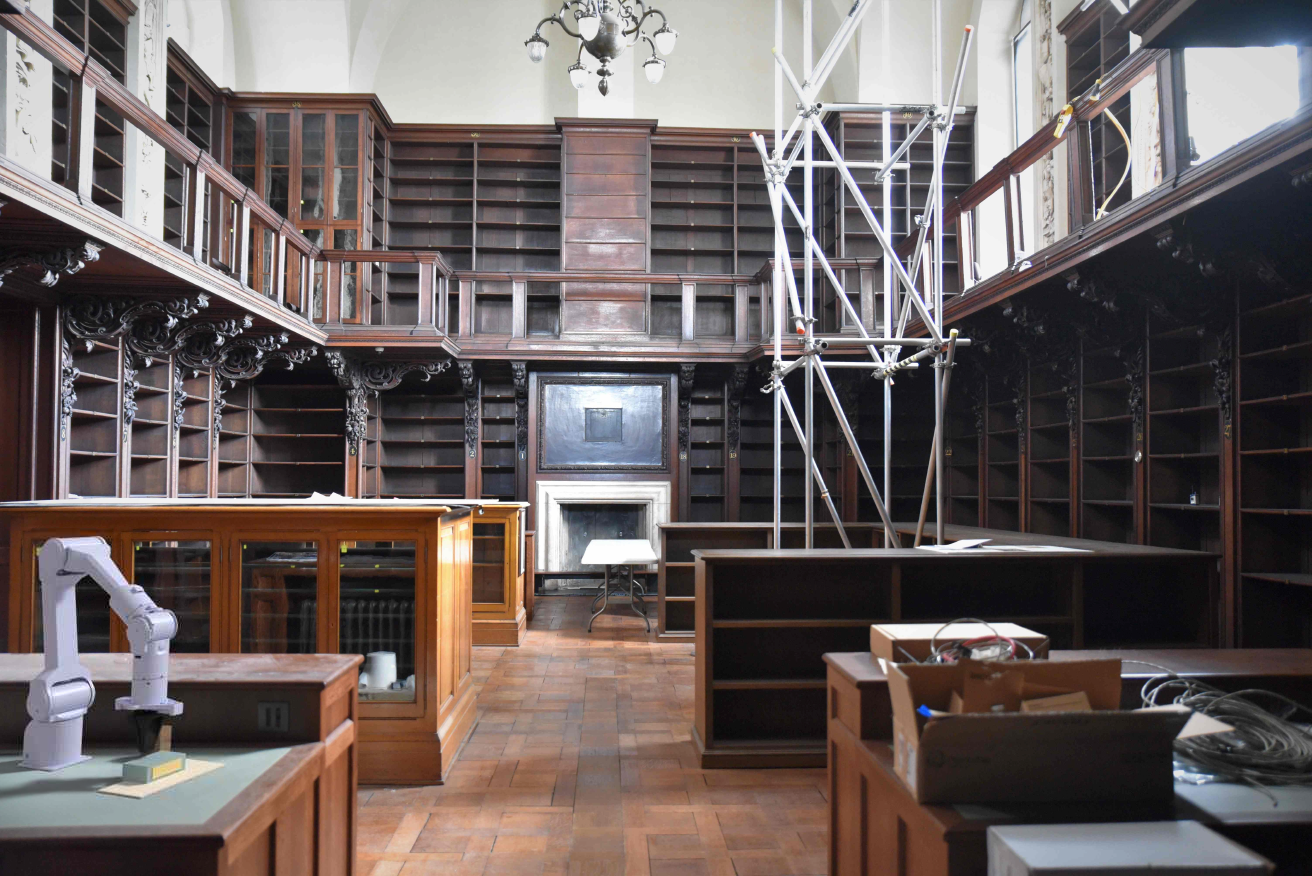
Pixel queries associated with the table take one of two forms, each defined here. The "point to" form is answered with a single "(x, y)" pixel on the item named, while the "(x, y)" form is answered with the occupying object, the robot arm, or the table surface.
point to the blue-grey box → (153, 767)
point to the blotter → (162, 780)
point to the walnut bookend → (161, 741)
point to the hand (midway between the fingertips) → (146, 751)
